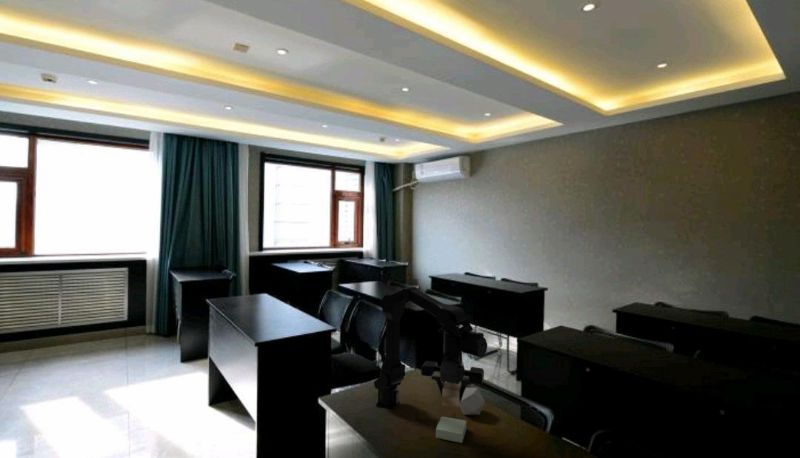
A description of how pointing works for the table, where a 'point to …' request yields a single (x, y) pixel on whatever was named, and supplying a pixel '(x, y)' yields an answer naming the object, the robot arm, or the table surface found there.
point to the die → (472, 402)
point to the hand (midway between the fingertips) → (451, 399)
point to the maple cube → (451, 394)
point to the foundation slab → (451, 429)
